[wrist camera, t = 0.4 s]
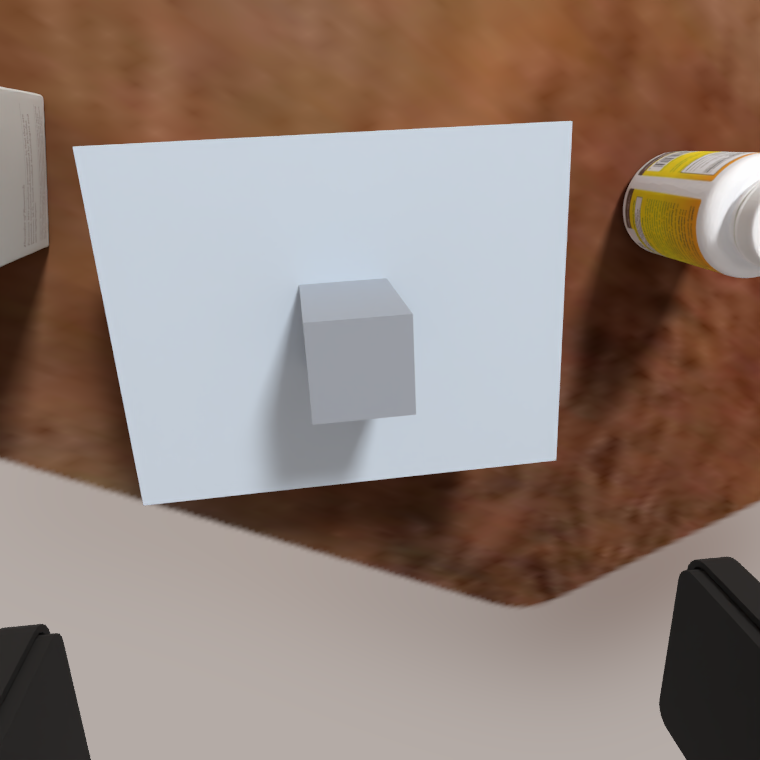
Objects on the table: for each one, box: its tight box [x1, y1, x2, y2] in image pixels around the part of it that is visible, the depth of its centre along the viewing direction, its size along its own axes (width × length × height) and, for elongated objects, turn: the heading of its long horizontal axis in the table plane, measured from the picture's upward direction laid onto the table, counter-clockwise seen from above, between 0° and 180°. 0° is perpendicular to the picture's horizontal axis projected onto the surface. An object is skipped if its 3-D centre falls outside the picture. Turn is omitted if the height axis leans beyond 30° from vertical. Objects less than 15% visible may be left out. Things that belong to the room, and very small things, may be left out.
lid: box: [73, 121, 572, 505], centre depth 26 cm, size 19×15×7 cm
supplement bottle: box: [623, 151, 760, 278], centre depth 33 cm, size 6×6×10 cm
